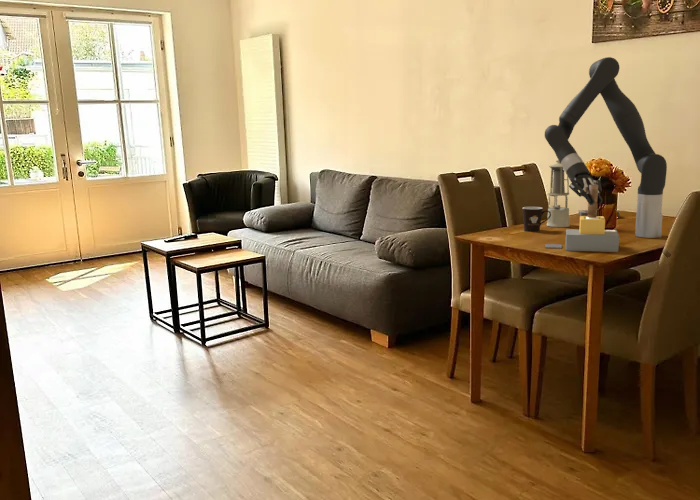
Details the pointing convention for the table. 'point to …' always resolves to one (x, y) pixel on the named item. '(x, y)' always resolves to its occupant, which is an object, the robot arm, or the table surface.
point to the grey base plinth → (592, 236)
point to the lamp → (557, 183)
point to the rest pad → (553, 246)
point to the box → (585, 213)
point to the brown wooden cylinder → (594, 193)
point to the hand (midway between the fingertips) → (596, 203)
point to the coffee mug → (533, 218)
